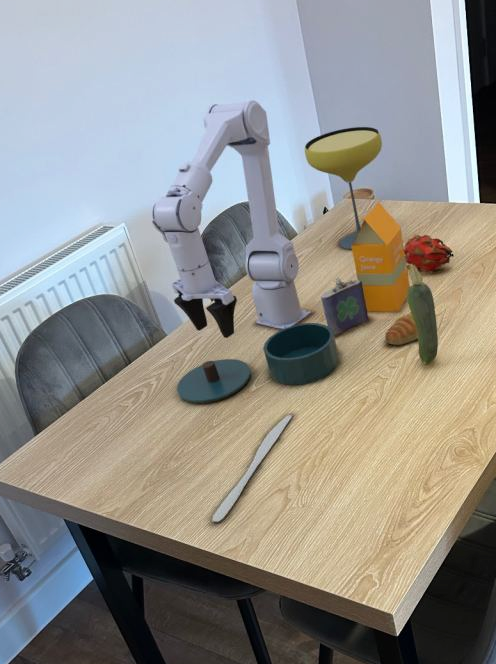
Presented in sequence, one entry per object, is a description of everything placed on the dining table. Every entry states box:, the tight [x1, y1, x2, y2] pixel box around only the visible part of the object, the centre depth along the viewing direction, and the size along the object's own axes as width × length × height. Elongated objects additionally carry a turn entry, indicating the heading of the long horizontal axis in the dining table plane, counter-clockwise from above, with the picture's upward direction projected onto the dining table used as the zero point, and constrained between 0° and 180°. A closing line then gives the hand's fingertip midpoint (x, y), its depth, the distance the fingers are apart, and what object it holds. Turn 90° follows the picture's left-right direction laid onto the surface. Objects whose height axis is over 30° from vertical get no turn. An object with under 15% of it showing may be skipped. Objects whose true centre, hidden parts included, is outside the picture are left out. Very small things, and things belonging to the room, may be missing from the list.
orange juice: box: [351, 201, 411, 313], centre depth 154 cm, size 8×9×20 cm
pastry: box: [384, 311, 418, 346], centre depth 145 cm, size 9×7×4 cm
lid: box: [176, 358, 252, 404], centre depth 144 cm, size 14×14×4 cm
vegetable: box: [404, 263, 439, 366], centre depth 130 cm, size 4×4×20 cm
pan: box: [262, 322, 340, 386], centre depth 143 cm, size 13×13×6 cm
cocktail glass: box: [304, 126, 383, 250], centre depth 183 cm, size 18×18×25 cm
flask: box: [320, 277, 369, 337], centre depth 151 cm, size 9×3×11 cm, turn 121°
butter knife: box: [211, 414, 293, 523], centre depth 122 cm, size 1×27×3 cm
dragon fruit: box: [404, 234, 455, 274], centre depth 167 cm, size 8×8×12 cm
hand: (215, 331), depth 140 cm, fingers open, 7 cm apart
